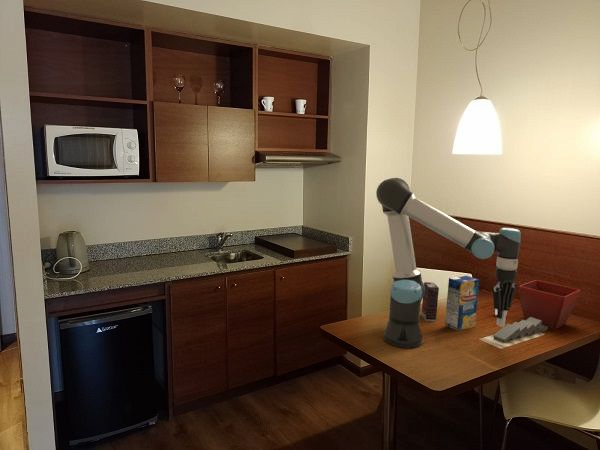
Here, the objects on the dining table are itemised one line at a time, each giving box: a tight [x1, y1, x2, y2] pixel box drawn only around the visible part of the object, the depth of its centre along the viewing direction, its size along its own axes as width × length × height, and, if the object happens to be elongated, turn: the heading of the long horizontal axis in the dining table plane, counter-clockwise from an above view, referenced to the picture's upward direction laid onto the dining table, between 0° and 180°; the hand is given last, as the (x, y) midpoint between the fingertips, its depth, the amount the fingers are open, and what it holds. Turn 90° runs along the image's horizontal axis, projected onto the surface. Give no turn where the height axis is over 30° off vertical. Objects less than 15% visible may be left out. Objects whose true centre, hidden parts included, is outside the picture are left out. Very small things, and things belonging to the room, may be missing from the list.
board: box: [478, 332, 545, 350], centre depth 180 cm, size 30×10×1 cm, turn 121°
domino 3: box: [518, 319, 534, 338], centre depth 183 cm, size 2×5×10 cm
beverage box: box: [444, 275, 480, 331], centre depth 189 cm, size 7×11×22 cm, turn 118°
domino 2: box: [510, 321, 527, 341], centre depth 180 cm, size 2×5×10 cm
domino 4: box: [525, 317, 542, 335], centre depth 186 cm, size 2×5×10 cm
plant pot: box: [519, 279, 581, 330], centre depth 199 cm, size 19×19×17 cm
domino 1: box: [492, 323, 520, 343], centre depth 178 cm, size 2×5×10 cm
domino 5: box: [532, 324, 549, 334], centre depth 189 cm, size 2×5×10 cm
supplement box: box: [420, 281, 440, 322], centre depth 200 cm, size 9×5×16 cm, turn 179°
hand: (500, 325), depth 175 cm, fingers closed
